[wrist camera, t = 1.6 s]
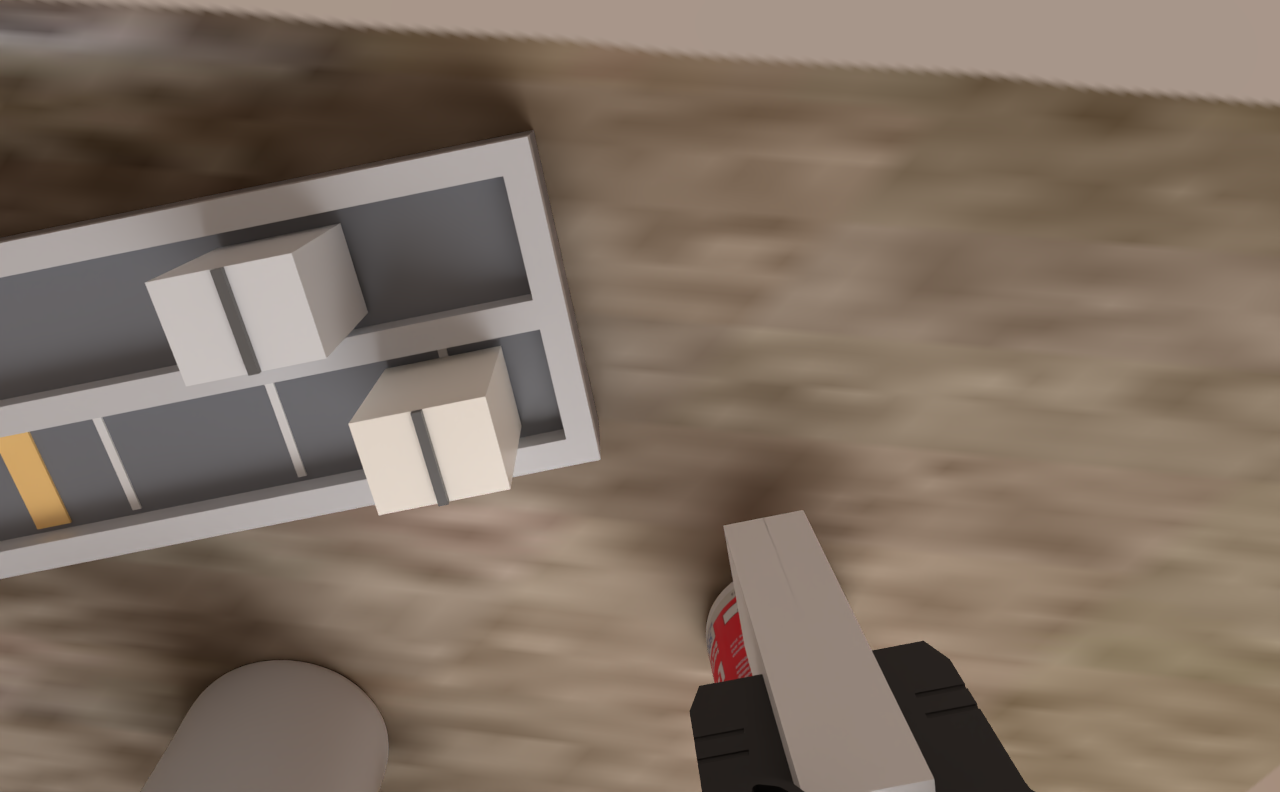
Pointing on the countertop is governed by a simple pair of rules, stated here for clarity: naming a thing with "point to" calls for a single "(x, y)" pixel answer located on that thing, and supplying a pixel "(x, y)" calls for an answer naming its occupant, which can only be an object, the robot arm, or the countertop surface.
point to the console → (278, 398)
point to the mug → (276, 735)
